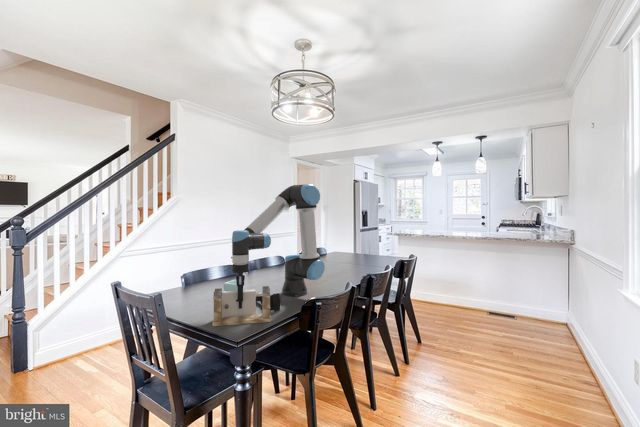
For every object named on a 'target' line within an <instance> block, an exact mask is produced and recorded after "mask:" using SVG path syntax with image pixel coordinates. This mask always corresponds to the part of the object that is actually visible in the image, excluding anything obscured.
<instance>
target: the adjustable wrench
mask: <svg viewBox="0 0 640 427" xmlns="http://www.w3.org/2000/svg"><path fill="white" fill-rule="evenodd" d="M280 293H281V292H280ZM280 293H273V294H270V311H273V312H278V311H279V312H280V310H281V302H282V300H281V294H280ZM256 302H260V305H262V302H263V295H262V296H256Z"/></svg>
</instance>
